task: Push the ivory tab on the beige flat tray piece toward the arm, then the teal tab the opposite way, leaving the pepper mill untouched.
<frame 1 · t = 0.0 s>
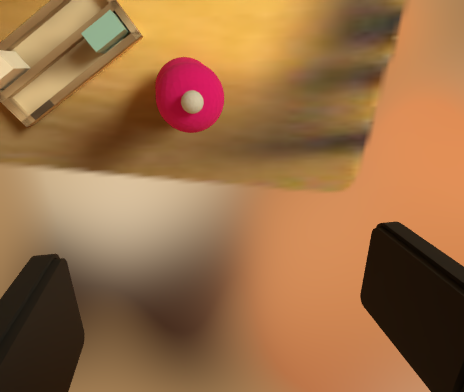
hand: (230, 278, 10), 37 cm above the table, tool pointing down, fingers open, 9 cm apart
ivory tab: (1, 70, 35), point 3 cm above the table, slide at 0.0 cm
pepper mill: (184, 87, 43), on the table
teal tab: (106, 33, 36), point 3 cm above the table, slide at 12.0 cm
beige flat tray piece: (63, 53, 39), on the table
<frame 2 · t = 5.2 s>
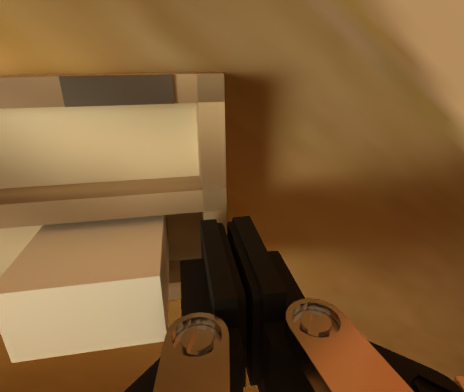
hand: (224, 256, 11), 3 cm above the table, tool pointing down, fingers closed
ivory tab: (102, 269, 10), point 3 cm above the table, slide at 1.2 cm, touching gripper
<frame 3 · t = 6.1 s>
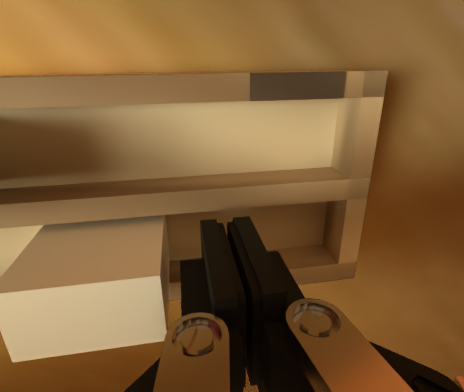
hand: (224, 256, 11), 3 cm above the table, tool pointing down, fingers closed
ivory tab: (102, 269, 10), point 3 cm above the table, slide at 6.5 cm, touching gripper
beige flat tray piece: (124, 182, 12), on the table
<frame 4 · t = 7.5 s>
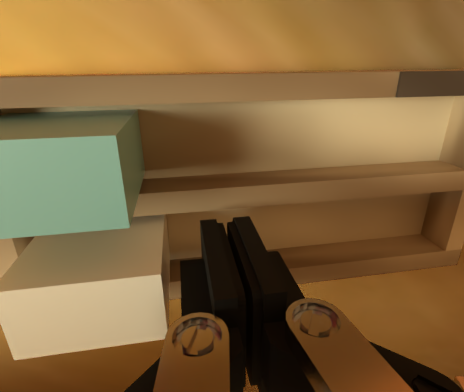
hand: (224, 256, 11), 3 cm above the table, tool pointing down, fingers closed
ivory tab: (103, 268, 10), point 3 cm above the table, slide at 11.4 cm, touching gripper
teal tab: (59, 162, 9), point 3 cm above the table, slide at 12.0 cm
beige flat tray piece: (246, 173, 13), on the table
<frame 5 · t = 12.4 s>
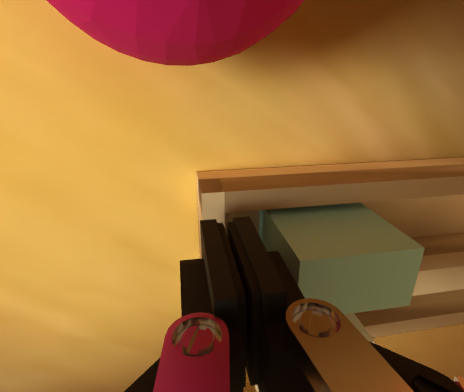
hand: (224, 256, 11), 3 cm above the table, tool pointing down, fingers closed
ivory tab: (294, 326, 13), point 3 cm above the table, slide at 11.5 cm
teal tab: (326, 247, 12), point 3 cm above the table, slide at 10.5 cm, touching gripper
beige flat tray piece: (376, 237, 16), on the table
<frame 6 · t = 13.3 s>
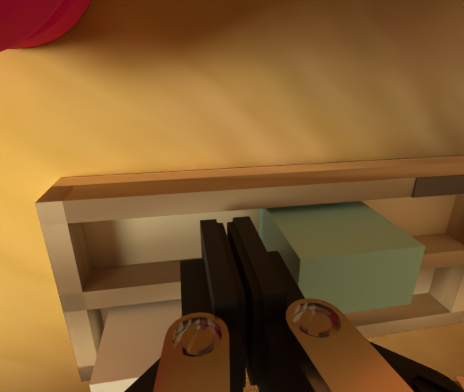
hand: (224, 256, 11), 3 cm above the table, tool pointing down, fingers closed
ivory tab: (163, 343, 12), point 3 cm above the table, slide at 11.5 cm
teal tab: (327, 246, 12), point 3 cm above the table, slide at 5.2 cm, touching gripper
beige flat tray piece: (277, 245, 15), on the table
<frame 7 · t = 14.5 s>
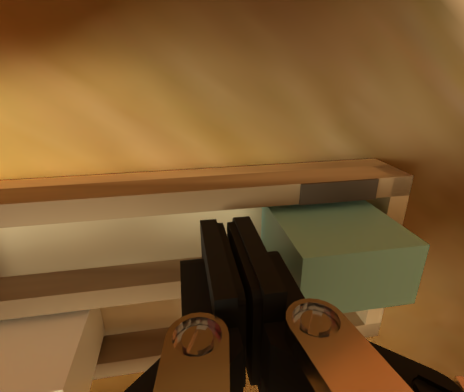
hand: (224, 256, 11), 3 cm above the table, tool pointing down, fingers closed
ivory tab: (28, 362, 11), point 3 cm above the table, slide at 11.5 cm
teal tab: (329, 245, 12), point 3 cm above the table, slide at 0.5 cm, touching gripper
beige flat tray piece: (179, 254, 14), on the table
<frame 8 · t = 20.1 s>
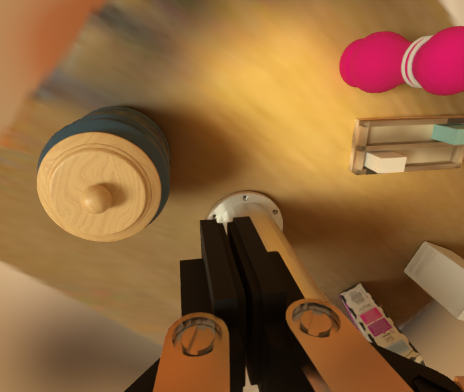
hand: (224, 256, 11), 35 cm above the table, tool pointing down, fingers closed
supplement box: (425, 260, 61), on the table
ivory tab: (383, 161, 47), point 3 cm above the table, slide at 11.5 cm
canister: (123, 153, 44), on the table
pepper mill: (359, 63, 44), on the table
candy bar box: (357, 305, 62), on the table
teal tab: (455, 133, 47), point 3 cm above the table, slide at 0.3 cm
beige flat tray piece: (404, 142, 50), on the table
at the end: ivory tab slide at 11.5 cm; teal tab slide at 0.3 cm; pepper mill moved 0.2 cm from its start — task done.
